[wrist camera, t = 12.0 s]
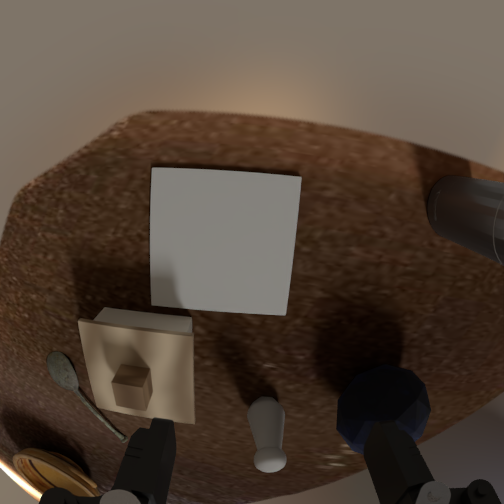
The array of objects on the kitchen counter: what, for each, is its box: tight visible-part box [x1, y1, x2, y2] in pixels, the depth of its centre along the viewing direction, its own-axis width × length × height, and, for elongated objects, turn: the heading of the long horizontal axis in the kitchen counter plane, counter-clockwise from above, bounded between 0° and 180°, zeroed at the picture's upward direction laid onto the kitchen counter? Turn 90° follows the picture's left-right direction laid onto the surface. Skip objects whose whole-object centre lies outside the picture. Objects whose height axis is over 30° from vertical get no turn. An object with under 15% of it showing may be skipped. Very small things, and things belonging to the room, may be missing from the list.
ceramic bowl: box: [13, 448, 100, 497], centre depth 49 cm, size 30×24×8 cm
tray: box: [150, 168, 302, 315], centre depth 39 cm, size 18×18×1 cm
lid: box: [78, 318, 195, 424], centre depth 35 cm, size 15×15×5 cm
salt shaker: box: [247, 396, 286, 473], centre depth 40 cm, size 6×6×13 cm
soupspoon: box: [47, 352, 128, 442], centre depth 45 cm, size 22×3×7 cm
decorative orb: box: [336, 364, 431, 455], centre depth 39 cm, size 14×15×15 cm
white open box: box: [94, 307, 192, 333], centre depth 40 cm, size 13×13×6 cm
